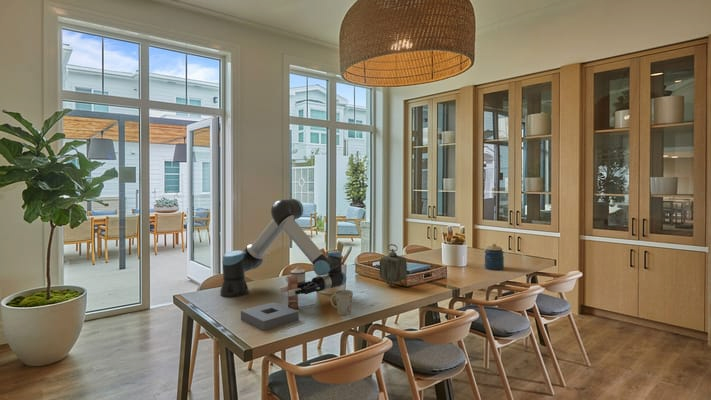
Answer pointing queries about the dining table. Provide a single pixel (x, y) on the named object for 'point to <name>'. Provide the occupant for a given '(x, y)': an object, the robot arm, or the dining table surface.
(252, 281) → the dining table surface
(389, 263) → the tabletop clock
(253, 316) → the board
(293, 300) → the peg
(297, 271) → the teacup with lid
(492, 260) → the canister
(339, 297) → the mug
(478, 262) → the dining table surface
